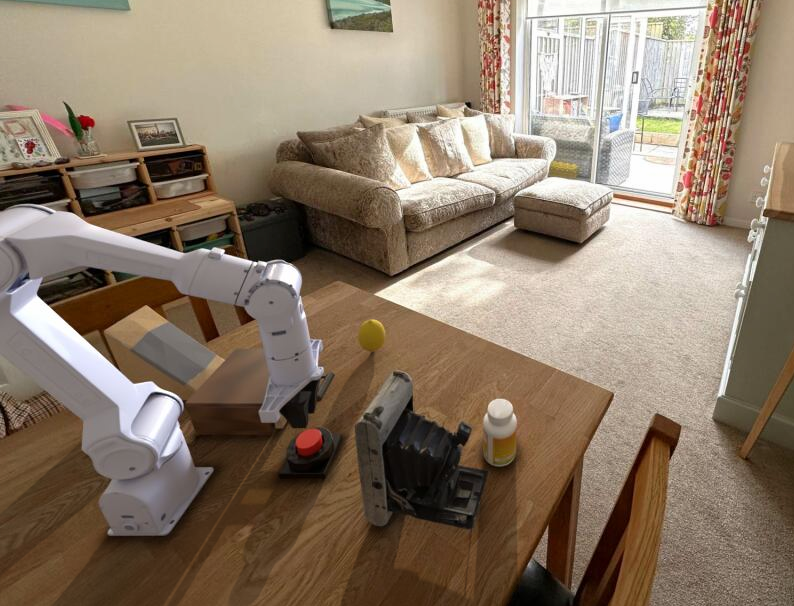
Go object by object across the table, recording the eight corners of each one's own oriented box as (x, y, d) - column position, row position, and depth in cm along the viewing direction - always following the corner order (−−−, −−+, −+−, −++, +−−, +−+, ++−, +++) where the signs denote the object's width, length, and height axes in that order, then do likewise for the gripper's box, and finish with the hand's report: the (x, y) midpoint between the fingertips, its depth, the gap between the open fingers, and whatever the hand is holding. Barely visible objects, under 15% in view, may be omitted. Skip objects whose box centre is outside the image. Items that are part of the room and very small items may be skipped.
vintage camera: (469, 555, 53) (475, 444, 46) (362, 525, 55) (350, 415, 48) (488, 486, 62) (495, 384, 55) (394, 463, 64) (389, 362, 57)
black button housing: (325, 478, 61) (322, 465, 60) (279, 479, 61) (275, 465, 60) (342, 439, 68) (340, 426, 67) (300, 439, 68) (297, 425, 67)
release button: (316, 456, 62) (315, 448, 61) (293, 456, 62) (291, 448, 61) (326, 436, 65) (324, 428, 65) (303, 436, 65) (302, 428, 65)
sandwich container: (210, 402, 74) (188, 335, 69) (129, 398, 75) (101, 331, 69) (241, 369, 82) (223, 307, 77) (168, 366, 83) (145, 303, 77)
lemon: (355, 356, 87) (350, 325, 84) (370, 340, 92) (366, 310, 89) (377, 361, 86) (373, 330, 83) (391, 345, 91) (388, 315, 88)
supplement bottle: (522, 448, 67) (524, 404, 63) (503, 474, 63) (504, 428, 59) (495, 433, 70) (496, 389, 66) (476, 456, 66) (476, 411, 62)
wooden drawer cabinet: (308, 377, 81) (302, 348, 78) (271, 435, 68) (263, 403, 66) (244, 376, 81) (236, 348, 78) (196, 435, 68) (184, 403, 65)
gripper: (291, 385, 50) (309, 462, 55) (336, 316, 63) (347, 383, 68) (233, 384, 50) (256, 462, 55) (291, 316, 63) (305, 383, 68)
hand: (304, 419), depth 61 cm, fingers closed
